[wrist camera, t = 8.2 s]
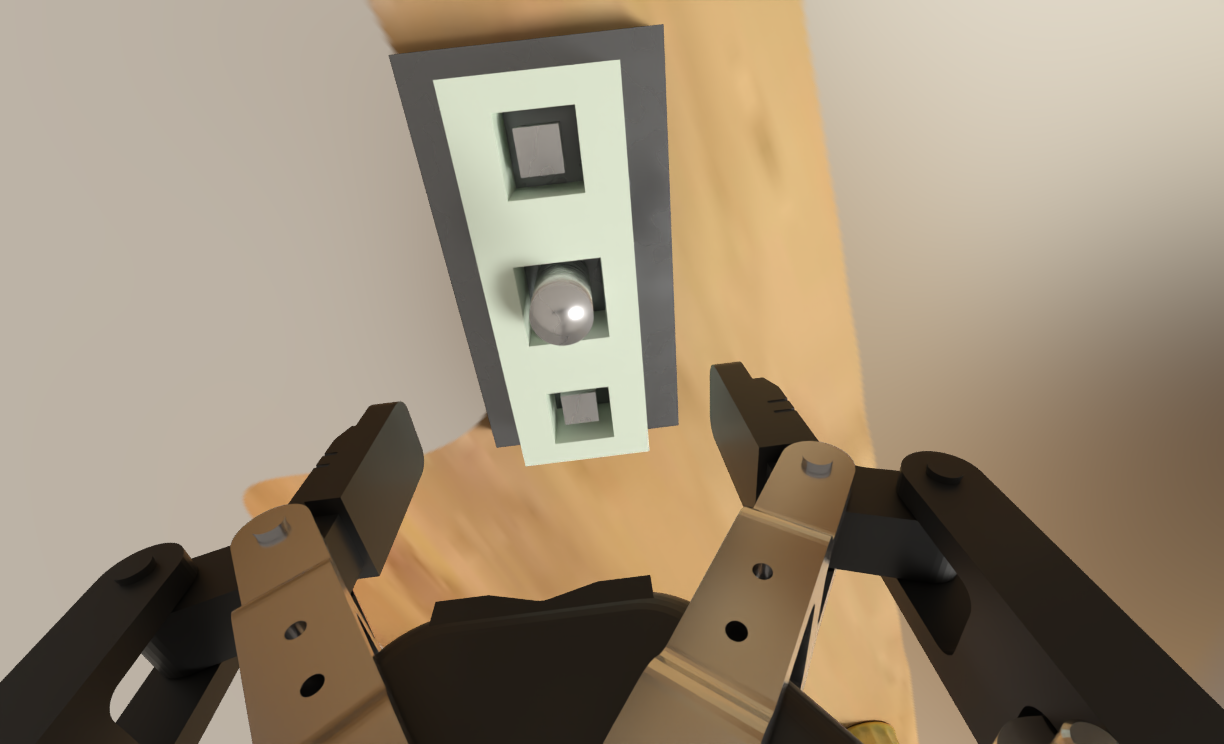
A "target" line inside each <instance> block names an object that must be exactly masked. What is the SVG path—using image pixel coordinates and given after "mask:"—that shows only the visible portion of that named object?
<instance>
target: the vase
mask: <svg viewBox="0 0 1224 744" xmlns="http://www.w3.org/2000/svg"><path fill="white" fill-rule="evenodd" d="M847 730H848V731H850V732H851V733H852V734H853V735H854V736H855V737H857V738H858V739H859V740H860V741H861V742H862V743H864V744H899V742H898V740H897V737H896V733H895V730H894V728H893V727H892V726H890V725H889V724H887V723H884V722H865V723H861V724H858V725H854V726H852V727H849V728H847Z"/></svg>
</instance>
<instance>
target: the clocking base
mask: <svg viewBox="0 0 1224 744" xmlns="http://www.w3.org/2000/svg"><path fill="white" fill-rule="evenodd" d="M389 58H390V62H391V66H392V69H393V73H394V77H395V80H396V84H397V87H398V91H399V95H400V98H401V102H402V106H403V109H404V113H405V116H406V120H407V123H408V127H409V130H410V134H411V138H412V142H413V145H414V149H415V153H416V156H417V160H418V164H419V167H420V171H421V175H422V178H423V182H424V185H425V189H426V193H427V196H428V200H429V204H430V207H431V210H432V215H433V218H434V222H435V225H436V229H437V233H438V236H439V239H440V243H441V247H442V251H443V254H444V258H445V262H446V265H447V268H448V273H449V276H450V280H451V284H452V287H453V291H454V294H455V298H456V302H457V305H458V309H459V312H460V316H461V320H462V323H463V327H464V331H465V334H466V338H467V342H468V345H469V349H470V352H471V356H472V359H473V363H474V367H475V370H476V374H477V378H478V381H479V385H480V389H481V392H482V396H483V399H484V403H485V407H486V411H487V414H488V418H489V421H490V425H491V429H492V432H493V436H494V440H495V443H496V447H497V448H498V447H506V446H514V445H521V444H520V440H519V436H518V432H517V428H516V424H515V419H514V415H513V411H512V407H511V403H510V399H509V394H508V390H507V386H506V382H505V378H504V374H503V370H502V365H501V361H500V357H499V353H498V349H497V345H496V340H495V336H494V332H493V328H492V324H491V320H490V316H489V311H488V307H487V303H486V299H485V295H484V291H483V286H482V282H481V278H480V274H479V270H478V266H477V262H476V257H475V253H474V249H473V245H472V241H471V237H470V232H469V228H468V224H467V220H466V216H465V212H464V208H463V203H462V199H461V195H460V191H459V187H458V183H457V178H456V174H455V170H454V166H453V162H452V158H451V154H450V149H449V145H448V141H447V137H446V133H445V129H444V124H443V120H442V116H441V112H440V108H439V104H438V100H437V95H436V91H435V87H434V83H433V80H439V79H448V78H457V77H466V76H475V75H484V74H493V73H502V72H511V71H520V70H529V69H539V68H548V67H557V66H566V65H575V64H584V63H593V62H602V61H611V60H620V65H621V79H622V92H623V105H624V119H625V132H626V146H627V159H628V173H629V186H630V199H631V213H632V226H633V240H634V253H635V266H636V280H637V293H638V307H639V320H640V333H641V347H642V360H643V374H644V387H645V400H646V414H647V427H648V429H651V428H659V427H667V426H676V425H679V423H678V397H677V370H676V344H675V317H674V291H673V264H672V238H671V211H670V184H669V158H668V131H667V105H666V78H665V52H664V25H663V24H661V25H652V26H643V27H634V28H625V29H617V30H608V31H599V32H590V33H581V34H572V35H563V36H554V37H545V38H536V39H528V40H519V41H510V42H501V43H492V44H483V45H474V46H465V47H456V48H447V49H438V50H430V51H421V52H412V53H403V54H394V55H389ZM502 114H503V120H504V125H505V130H506V136H507V141H508V147H509V152H510V157H511V163H512V168H513V174H514V179H515V184H516V188H525V187H533V186H542V185H551V184H560V183H568V182H577V181H584V179H583V171H582V162H581V154H580V145H579V137H578V128H577V120H576V112H575V104H572V105H563V106H554V107H545V108H536V109H527V110H518V111H509V112H502ZM524 270H525V275H526V280H527V286H528V291H529V296H530V301H531V305H530V311H529V320H530V324H531V327H532V329H533V330H534V332H535V333H536V334H537V335H538V336H539V337H540V338H541V339H542V340H544V341H545V342H547V343H550V344H553V345H558V346H566V345H571V344H574V343H577V342H579V341H580V340H582V339H583V338H584V337H585V336H586V335H587V334H588V333H589V331H590V329H591V327H592V325H593V320H594V313H593V311H601V310H605V302H604V293H603V284H602V275H601V266H600V258H592V259H583V260H575V261H566V262H557V263H549V264H540V265H532V266H524ZM554 395H555V401H556V406H557V409H560V408H563V413H564V419H565V424H566V425H569V424H577V423H585V422H593V421H599V413H598V404H601V403H609V402H610V399H609V390H608V387H601V388H593V389H584V390H576V391H568V392H560V393H554Z"/></svg>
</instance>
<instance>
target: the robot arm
mask: <svg viewBox="0 0 1224 744" xmlns="http://www.w3.org/2000/svg"><path fill="white" fill-rule="evenodd" d="M710 422H711V428H712V433H713V436H714V439H715V441H716V444H717V446H718V448H719V451H720V453H721V455H722V458H723V460H724V462H725V465H726V467H727V469H728V472H729V474H730V477H731V479H732V481H733V484H734V486H735V488H736V491H737V493H738V495H739V498H740V500H741V502H742V505H743V508H742V509H741V510H740V512H739V514H738V516H737V517H736V519H735V521H734V523H733V525H732V527H731V528H730V530H729V532H728V534H727V536H726V537H725V539H724V541H723V543H722V545H721V547H720V548H719V550H718V552H717V554H716V556H715V558H714V559H713V561H712V563H711V565H710V567H709V569H708V570H707V572H706V574H705V576H704V578H703V580H702V581H701V583H700V585H699V587H698V589H697V591H696V592H695V594H694V596H693V598H692V600H691V602H689V601H687V600H684V599H682V598H679V597H676V596H672V595H668V594H664V593H657V592H653V590H652V584H651V577H650V575H646V576H638V577H630V578H622V579H614V580H606V581H598V582H595V583H592V584H590V585H587V586H584V587H581V588H579V589H576V590H573V591H570V592H567V593H565V594H562V595H559V596H556V597H554V598H551V599H548V600H545V601H533V600H525V599H516V598H507V597H499V596H490V595H487V596H479V597H471V598H463V599H455V600H447V601H439V602H436V603H435V606H434V610H433V613H432V617H431V620H430V622H427V623H425V624H422V625H420V626H418V627H416V628H414V629H412V630H410V631H408V632H407V633H405V634H403V635H401V636H400V637H398V638H397V639H395V640H394V641H392V642H391V643H390V644H388V645H387V646H385V647H384V648H383V649H381V647H380V645H379V643H378V641H377V639H376V636H375V634H374V632H373V630H372V628H371V626H370V624H369V621H368V619H367V617H366V615H365V613H364V611H363V609H362V606H361V604H360V602H359V600H358V598H357V596H356V594H355V592H354V590H353V588H354V585H355V583H356V581H357V579H361V578H369V577H377V576H380V574H381V571H382V569H383V567H384V564H385V562H386V559H387V557H388V554H389V552H390V550H391V547H392V545H393V542H394V540H395V538H396V535H397V533H398V530H399V528H400V526H401V523H402V521H403V518H404V516H405V513H406V511H407V509H408V506H409V504H410V501H411V499H412V497H413V494H414V492H415V489H416V487H417V484H418V482H419V480H420V477H421V475H422V472H423V467H424V456H423V450H422V447H421V444H420V442H419V439H418V436H417V434H416V431H415V428H414V425H413V422H412V420H411V417H410V414H409V411H408V409H407V407H406V405H405V404H404V403H403V402H392V403H383V404H375V405H371V406H369V407H368V409H367V410H366V412H365V413H364V415H363V416H362V418H361V419H360V420H359V422H358V423H357V425H356V426H351V427H350V428H349V429H347V430H346V431H345V432H344V433H342V434H341V435H340V436H338V437H337V438H336V439H335V440H334V441H333V442H332V444H331V445H330V447H329V448H328V449H327V451H326V452H325V456H323V457H322V458H321V459H320V461H319V462H318V463H317V465H316V466H317V467H316V468H314V469H313V470H312V472H311V473H310V474H309V476H308V477H307V479H306V480H305V481H304V483H303V484H302V486H301V487H300V488H299V490H298V491H297V492H296V494H295V495H294V497H293V498H292V499H291V501H290V502H289V504H287V505H282V506H279V507H276V508H273V509H270V510H268V511H266V512H264V513H262V514H260V515H258V516H257V517H255V518H254V519H252V520H251V521H249V522H248V523H247V524H246V525H245V526H243V527H242V528H241V529H240V530H239V531H238V532H237V534H236V535H235V537H234V538H233V540H232V542H231V545H230V546H228V547H225V548H222V549H219V550H216V551H213V552H210V553H207V554H204V555H201V556H198V557H195V558H192V559H191V558H190V556H189V555H188V554H187V552H186V551H185V550H184V548H183V547H182V546H181V545H179V544H177V543H163V544H158V545H154V546H151V547H148V548H146V549H143V550H141V551H138V552H136V553H134V554H132V555H130V556H129V557H127V558H125V559H124V560H122V561H120V562H119V563H117V564H116V565H114V566H113V567H111V568H110V569H109V570H108V571H106V572H105V573H104V574H103V575H102V576H101V577H100V578H99V579H98V580H97V581H96V582H95V583H94V584H93V585H92V586H91V587H90V588H89V589H88V590H87V592H86V593H84V594H83V596H82V597H81V598H80V599H79V600H78V601H77V602H76V603H75V604H74V605H73V606H72V607H71V608H70V609H69V611H68V612H66V614H65V615H64V616H63V617H62V618H61V619H60V620H59V621H58V622H57V623H56V624H55V625H54V626H53V627H52V628H51V629H50V630H49V632H48V633H47V634H46V635H45V636H44V637H43V638H42V639H41V640H40V641H39V642H38V643H37V644H36V645H35V646H34V647H33V648H32V649H31V651H30V652H29V653H28V654H27V655H26V656H25V657H24V658H23V659H22V660H21V661H20V662H19V663H18V664H17V665H16V666H15V668H14V669H13V670H12V671H11V672H10V673H9V674H8V675H7V676H6V677H5V678H4V679H3V680H2V681H1V682H0V744H198V743H199V741H200V739H201V737H202V735H203V734H204V732H205V730H206V728H207V726H208V724H209V722H210V721H211V719H212V717H213V715H214V713H215V711H216V709H217V708H218V706H219V704H220V702H221V700H222V698H223V697H224V695H225V693H226V691H227V689H228V687H229V686H230V684H231V682H232V680H233V678H234V676H235V674H236V673H237V671H238V669H239V668H240V673H241V679H242V685H243V691H244V697H245V703H246V708H247V714H248V720H249V726H250V732H251V737H252V743H253V744H864V743H862V742H861V741H860V740H859V739H858V738H857V737H855V736H854V735H853V734H852V733H851V732H850V731H848V730H847V729H846V728H845V727H844V726H843V725H841V724H840V723H839V722H838V721H837V720H835V719H834V718H833V717H832V716H831V715H830V714H828V713H827V712H826V711H825V710H824V709H823V708H821V707H820V706H819V705H818V704H817V703H816V702H814V701H813V700H812V699H811V698H810V697H809V696H807V695H806V694H805V693H804V692H803V689H804V685H805V682H806V678H807V674H808V670H809V666H810V662H811V658H812V653H813V649H814V645H815V641H816V638H817V634H818V631H819V627H820V624H821V620H822V617H823V614H824V610H825V607H826V603H827V600H828V596H829V593H830V590H831V586H832V583H833V579H834V576H835V573H836V569H841V570H847V571H854V572H860V573H867V574H873V575H880V576H881V577H882V579H883V581H884V582H885V584H886V586H887V588H888V589H889V591H890V593H891V594H892V596H893V598H894V600H895V601H896V603H897V605H898V606H899V608H900V610H901V612H902V613H903V615H904V617H905V619H906V620H907V622H908V624H909V625H910V627H911V629H912V631H913V632H914V634H915V636H916V637H917V639H918V641H919V643H920V644H921V646H922V648H923V649H924V651H925V653H926V655H927V656H928V658H929V660H930V662H931V663H932V665H933V667H934V668H935V670H936V672H937V674H938V675H939V677H940V679H941V681H942V682H943V684H944V686H945V687H946V689H947V691H948V692H949V694H950V696H951V697H952V699H953V701H954V703H955V705H956V706H957V708H958V710H959V712H960V713H961V715H962V717H963V718H964V720H965V722H966V723H967V725H968V727H969V729H970V730H971V732H972V734H973V736H974V737H975V739H976V741H977V742H978V744H1224V709H1223V708H1222V707H1221V706H1220V705H1219V704H1217V702H1216V701H1215V700H1214V699H1212V697H1210V696H1209V694H1207V693H1206V692H1205V691H1204V690H1203V689H1202V688H1201V687H1200V686H1199V685H1198V684H1197V683H1196V682H1195V681H1194V680H1193V679H1192V678H1191V677H1190V676H1189V675H1188V674H1187V673H1186V672H1185V671H1184V670H1183V669H1182V668H1181V667H1180V666H1179V665H1178V664H1177V663H1176V662H1175V661H1174V660H1173V659H1172V658H1171V657H1169V655H1168V654H1167V653H1166V652H1165V651H1163V649H1162V648H1161V647H1160V646H1159V645H1157V644H1156V643H1155V642H1154V641H1153V640H1152V639H1151V638H1150V637H1149V636H1148V635H1147V634H1146V633H1145V632H1144V631H1143V630H1142V629H1141V628H1140V627H1139V626H1138V625H1137V624H1136V623H1135V622H1134V621H1133V620H1132V619H1131V618H1130V617H1129V616H1128V615H1127V614H1126V613H1125V612H1124V611H1123V610H1122V609H1121V608H1120V607H1119V606H1118V605H1117V604H1116V603H1115V602H1114V601H1113V600H1112V599H1111V598H1109V597H1108V595H1107V594H1106V593H1105V592H1103V591H1102V590H1101V589H1100V588H1099V587H1098V586H1097V585H1096V584H1095V583H1094V582H1093V581H1092V580H1091V579H1090V578H1089V577H1088V576H1087V575H1086V574H1085V573H1084V572H1083V571H1082V570H1081V569H1080V568H1079V567H1078V566H1077V565H1076V564H1075V563H1074V562H1073V561H1072V560H1071V559H1070V558H1069V557H1068V556H1067V555H1066V554H1065V553H1064V552H1063V551H1062V550H1061V549H1060V548H1059V547H1058V546H1057V545H1056V544H1055V543H1053V542H1052V541H1051V540H1050V539H1049V538H1048V537H1047V536H1046V535H1045V534H1044V533H1043V532H1042V531H1041V530H1040V529H1039V528H1038V527H1037V526H1036V525H1035V524H1034V523H1033V522H1032V521H1031V520H1030V519H1029V518H1028V517H1027V516H1026V515H1025V514H1024V513H1023V512H1022V511H1021V510H1020V509H1019V508H1018V507H1017V506H1016V505H1015V504H1014V503H1013V502H1012V501H1011V500H1010V499H1009V498H1008V497H1007V496H1006V495H1005V494H1004V493H1003V492H1001V491H1000V489H999V488H997V487H996V486H995V485H994V484H993V483H992V482H991V481H990V480H989V479H988V478H987V477H986V476H985V475H984V474H983V473H982V472H981V471H980V470H979V469H978V468H976V467H975V466H973V465H972V464H971V463H969V462H967V461H965V460H963V459H960V458H958V457H956V456H953V455H949V454H945V453H941V452H933V451H922V452H916V453H912V454H910V455H908V456H906V457H905V458H904V459H903V461H902V463H901V467H900V471H894V470H885V469H874V468H866V467H860V466H856V465H855V464H854V462H853V460H852V459H851V457H850V456H849V455H848V454H847V453H845V452H844V451H843V450H841V449H839V448H837V447H835V446H833V445H830V444H827V443H823V442H819V441H818V440H817V438H816V437H815V436H814V434H813V433H812V431H811V430H810V429H809V427H808V426H807V425H806V423H805V422H804V421H803V419H802V418H801V417H800V415H799V414H798V412H797V411H795V410H794V407H793V406H792V404H791V403H790V402H789V401H787V397H786V396H785V395H784V393H783V392H782V391H781V389H780V388H779V387H778V386H776V385H775V384H773V383H771V382H770V381H768V380H766V379H765V378H755V379H752V378H751V376H750V374H749V373H748V371H747V370H746V368H745V367H744V365H743V364H742V363H741V362H732V363H724V364H715V365H712V366H711V369H710ZM140 654H142V655H143V656H144V657H145V658H146V659H147V660H148V661H149V662H150V663H151V664H152V665H153V666H154V668H153V670H152V671H151V673H150V674H149V675H148V677H147V678H146V680H145V681H144V683H143V684H142V685H141V687H140V688H139V690H138V691H137V693H136V694H135V696H134V697H133V698H132V700H131V701H130V703H129V704H128V706H127V707H126V709H125V710H124V711H123V713H122V714H121V716H120V717H119V719H118V720H117V722H116V723H115V722H114V721H113V720H112V718H111V716H110V701H111V698H112V695H113V692H114V690H115V689H116V687H117V685H118V684H119V683H120V681H121V680H122V678H123V677H124V676H125V674H126V673H127V672H128V670H129V669H130V668H131V666H132V665H133V664H134V662H135V661H136V660H137V658H138V657H139V655H140Z"/></svg>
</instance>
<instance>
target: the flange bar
mask: <svg viewBox="0 0 1224 744" xmlns="http://www.w3.org/2000/svg"><path fill="white" fill-rule="evenodd" d="M433 83H434V87H435V91H436V95H437V100H438V104H439V108H440V112H441V116H442V120H443V124H444V129H445V133H446V137H447V141H448V145H449V149H450V154H451V158H452V162H453V166H454V170H455V174H456V178H457V183H458V187H459V191H460V195H461V199H462V203H463V208H464V212H465V216H466V220H467V224H468V228H469V232H470V237H471V241H472V245H473V249H474V253H475V257H476V262H477V266H478V270H479V274H480V278H481V282H482V286H483V291H484V295H485V299H486V303H487V307H488V311H489V316H490V320H491V324H492V328H493V332H494V336H495V340H496V345H497V349H498V353H499V357H500V361H501V365H502V370H503V374H504V378H505V382H506V386H507V390H508V394H509V399H510V403H511V407H512V411H513V415H514V419H515V424H516V428H517V432H518V436H519V440H520V444H521V448H522V453H523V457H524V461H525V465H526V466H532V465H540V464H548V463H557V462H565V461H573V460H581V459H589V458H597V457H605V456H613V455H622V454H630V453H638V452H646V451H649V441H648V427H647V414H646V400H645V387H644V374H643V360H642V347H641V333H640V320H639V307H638V293H637V280H636V266H635V253H634V240H633V226H632V213H631V199H630V186H629V173H628V159H627V146H626V132H625V119H624V105H623V92H622V79H621V65H620V60H611V61H602V62H593V63H584V64H575V65H566V66H557V67H548V68H539V69H529V70H520V71H511V72H502V73H493V74H484V75H475V76H466V77H457V78H448V79H439V80H433ZM572 104H575V112H576V120H577V128H578V137H579V145H580V154H581V162H582V171H583V179H584V181H577V182H568V183H560V184H551V185H542V186H533V187H525V188H516V184H515V179H514V174H513V168H512V163H511V157H510V152H509V147H508V141H507V136H506V130H505V125H504V120H503V114H502V112H509V111H518V110H527V109H536V108H545V107H554V106H563V105H572ZM592 258H600V266H601V275H602V284H603V293H604V302H605V310H601V311H593V313H594V320H593V325H592V327H591V329H590V331H589V333H588V334H587V335H586V336H585V337H584V338H583V339H582V340H580V341H579V342H577V343H574V344H571V345H566V346H558V345H553V344H550V343H547V342H545V341H544V340H542V339H541V338H540V337H539V336H538V335H537V334H536V333H535V332H534V330H533V329H532V327H531V324H530V320H529V311H530V305H531V301H530V296H529V291H528V286H527V280H526V275H525V270H524V266H532V265H540V264H549V263H557V262H566V261H575V260H583V259H592ZM601 387H608V390H609V399H610V402H609V403H601V404H598V413H599V421H593V422H585V423H577V424H569V425H566V424H565V419H564V413H563V408H560V409H557V406H556V401H555V395H554V393H560V392H568V391H576V390H584V389H593V388H601Z"/></svg>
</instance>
